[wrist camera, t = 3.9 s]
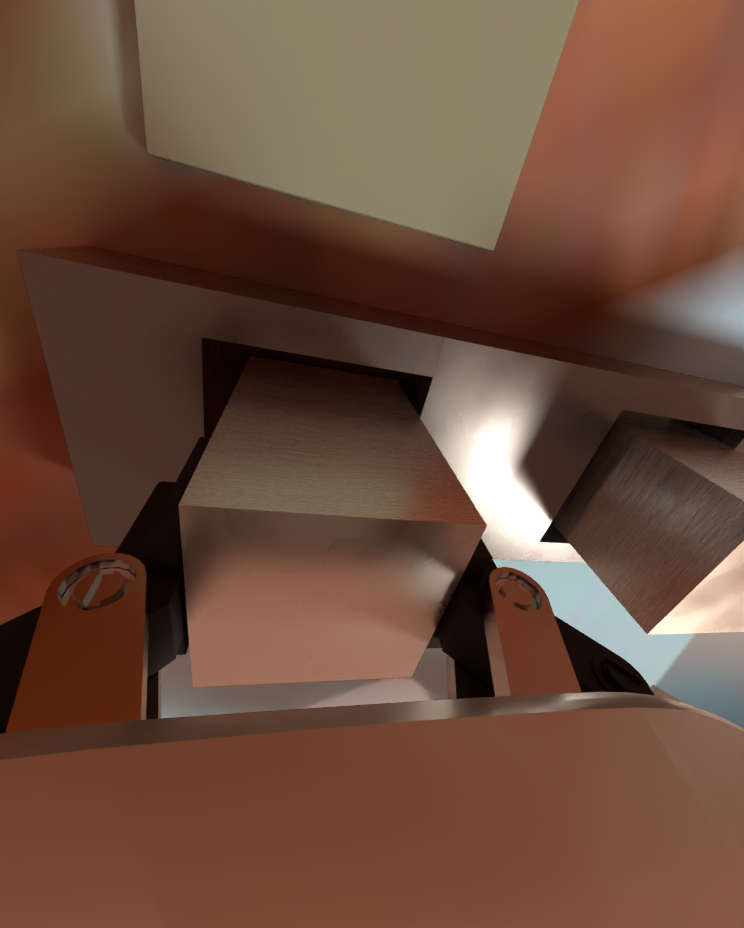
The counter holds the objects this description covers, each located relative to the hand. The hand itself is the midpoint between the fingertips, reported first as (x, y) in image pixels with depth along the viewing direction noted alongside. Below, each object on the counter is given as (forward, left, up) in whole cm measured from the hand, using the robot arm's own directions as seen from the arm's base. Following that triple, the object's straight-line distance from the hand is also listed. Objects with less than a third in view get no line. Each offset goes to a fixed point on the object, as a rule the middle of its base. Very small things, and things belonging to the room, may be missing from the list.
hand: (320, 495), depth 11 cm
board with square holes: (0, -7, -5) cm, 8 cm away
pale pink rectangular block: (0, 0, -4) cm, 4 cm away
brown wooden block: (0, -14, -5) cm, 15 cm away
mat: (+11, 0, -5) cm, 12 cm away
